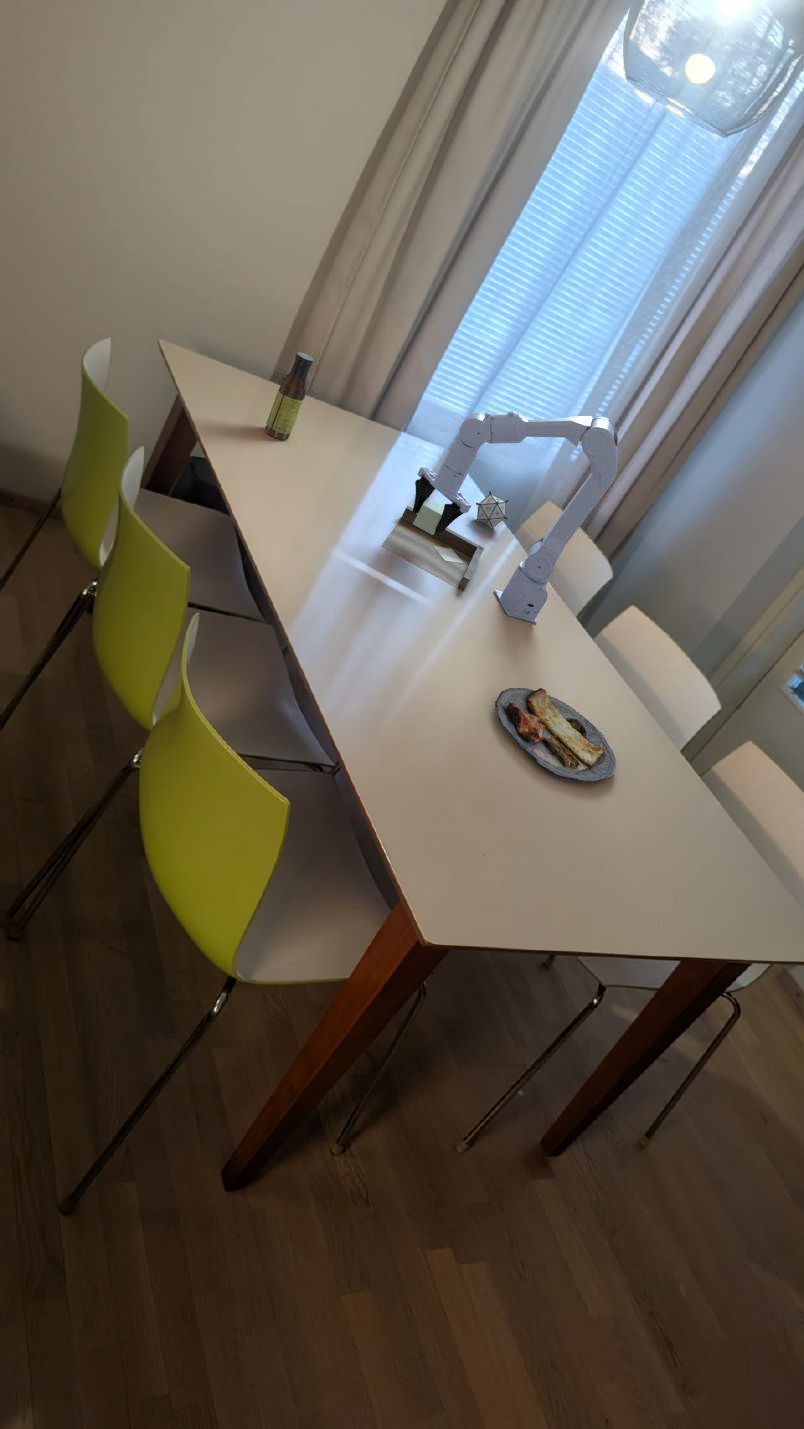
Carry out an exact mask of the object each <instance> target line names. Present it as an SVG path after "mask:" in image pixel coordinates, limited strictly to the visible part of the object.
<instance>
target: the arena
mask: <svg viewBox="0 0 804 1429" xmlns="http://www.w3.org/2000/svg"><path fill="white" fill-rule="evenodd" d="M412 511H413V507H410V506H409V505H407V506H406V507H405V509H404V511H403V514H402V515H401V517H400V519H399V520H398V521H397V523H396V524H395V526H394V528H393V529H392V530H391V532H390V533H389V535H387V537H386V539H385V540H384V541H383V543H382V545H381V548H383V549H386V550H387V551H389V552H391V553H393V554H395V555H396V556H398V557H400V558H402V559H403V560H405V561H407V562H409V563H410V564H413V565H414V566H416V567H418V568H420V569H422V570H423V571H425V572H427V573H428V574H430V575H433V576H435V577H436V578H437V579H438V578H439V579H440V580H441V581H443V582H445V583H448V584H449V585H451V586H453V587H454V588H456V589H458V590H460V591H462V592H464V591H465V590H466V589H467V588H466V587H467V586H468V584H469V582H470V580H471V578H472V577H473V574H474V572H475V570H476V567H477V565H478V564H479V561H480V558H481V557H482V554H483V552H484V550H485V547H483V546H481V545H479V544H477V543H476V542H474V541H472V540H471V539H468V538H466V537H464V535H461V534H459V533H457V532H456V531H454V530H452V529H450V528H449V527H447V528H446V529H445V530H444V531H443V533H436V532H435V533H434V535H432V534H430V533H428V532H426V531H424V530H422V529H421V528H419V527H417V526H415V525H413V523H414V521H415V519H416V517H417V515H418V513H413V512H412Z"/></svg>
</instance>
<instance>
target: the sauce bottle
mask: <svg viewBox="0 0 804 1429" xmlns="http://www.w3.org/2000/svg"><path fill="white" fill-rule="evenodd" d="M294 359H295V360H294V363H293V365H292V368H291V370H290V372H289V373H288V374H287V375H286V376H284V377H283V378H282V380H281V383H280V386H279V388H278V390H277V393H276V396H275V398H274V401H273V404H272V406H271V409H270V412H269V415H268V418H267V420H266V425H265V428H264V430H265V431H266V433H268V435H269V436H271V437H272V438H274V439H277V440H281V441H286V440H287V441H288V439H289V438H290V436H291V434H292V433H293V431H294V427H295V424H296V422H297V419H298V416H299V414H300V411H301V410H302V405H303V403H304V401H305V398H306V395H307V394H306V392H307V378H308V374H309V371H310V369H311V366H313V363H314V359H313V357H312V356H311V355H309V354H307V353H305V352H302V351H297V353H296V355H295V358H294Z"/></svg>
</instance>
